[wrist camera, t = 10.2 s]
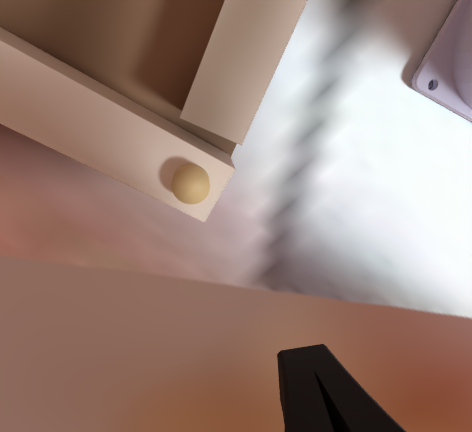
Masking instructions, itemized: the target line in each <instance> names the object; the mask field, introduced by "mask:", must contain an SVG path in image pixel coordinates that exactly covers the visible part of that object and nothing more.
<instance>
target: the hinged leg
mask: <svg viewBox="0 0 472 432" xmlns="http://www.w3.org/2000/svg"><path fill="white" fill-rule="evenodd" d="M0 124H2V125H4V126H6V127H8V128H10V129H12V130H14V131H16V132H19V133H21V134H23V135H25V136H27V137H29V138H31V139H33V140H35V141H37V142H39V143H41V144H43V145H45V146H47V147H50V148H52V149H54V150H56V151H58V152H60V153H62V154H64V155H66V156H68V157H70V158H72V159H74V160H76V161H79V162H81V163H83V164H85V165H87V166H89V167H91V168H93V169H95V170H97V171H99V172H101V173H103V174H105V175H108V176H110V177H112V178H114V179H116V180H118V181H120V182H122V183H124V184H126V185H128V186H130V187H132V188H134V189H136V190H139V191H141V192H143V193H145V194H147V195H149V196H151V197H153V198H155V199H157V200H159V201H161V202H163V203H165V204H168V205H170V206H172V207H174V208H176V209H178V210H180V211H182V212H184V213H186V214H188V215H190V216H192V217H194V218H197V219H199V220H201V221H203V222H205V221H206V219H207V217H208V215H209V214H210V212H211V210H212V209H213V207H214V205H215V203H216V202H217V200H218V198H219V197H220V195H221V193H222V192H223V190H224V188H225V186H226V185H227V183H228V181H229V180H230V178H231V176H232V175H233V173H234V171H235V167H234V164H233V162H232V159H231V157H230V155H229V154H227V153H225V152H223V151H221V150H220V149H218V148H216V147H214V146H212V145H211V144H209V143H207V142H205V141H204V140H202V139H200V138H198V137H196V136H195V135H193V134H191V133H189V132H187V131H186V130H184V129H182V128H180V127H178V126H177V125H175V124H173V123H171V122H170V121H168V120H166V119H164V118H162V117H161V116H159V115H157V114H155V113H153V112H152V111H150V110H148V109H146V108H144V107H143V106H141V105H139V104H137V103H135V102H134V101H132V100H130V99H128V98H127V97H125V96H123V95H121V94H119V93H118V92H116V91H114V90H112V89H110V88H109V87H107V86H105V85H103V84H101V83H100V82H98V81H96V80H94V79H92V78H91V77H89V76H87V75H85V74H84V73H82V72H80V71H78V70H76V69H75V68H73V67H71V66H69V65H67V64H66V63H64V62H62V61H60V60H58V59H57V58H55V57H53V56H51V55H50V54H48V53H46V52H44V51H42V50H41V49H39V48H37V47H35V46H33V45H32V44H30V43H28V42H26V41H24V40H23V39H21V38H19V37H17V36H15V35H14V34H12V33H10V32H8V31H7V30H5V29H3V28H1V27H0Z"/></svg>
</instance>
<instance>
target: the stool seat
mask: <svg viewBox="0 0 472 432" xmlns="http://www.w3.org/2000/svg"><path fill="white" fill-rule="evenodd" d="M306 2H307V0H0V27H1V28H3V29H5V30H7V31H8V32H10V33H12V34H14V35H15V36H17V37H19V38H21V39H23V40H24V41H26V42H28V43H30V44H32V45H33V46H35V47H37V48H39V49H41V50H42V51H44V52H46V53H48V54H50V55H51V56H53V57H55V58H57V59H58V60H60V61H62V62H64V63H66V64H67V65H69V66H71V67H73V68H75V69H76V70H78V71H80V72H82V73H84V74H85V75H87V76H89V77H91V78H92V79H94V80H96V81H98V82H100V83H101V84H103V85H105V86H107V87H109V88H110V89H112V90H114V91H116V92H118V93H119V94H121V95H123V96H125V97H127V98H128V99H130V100H132V101H134V102H135V103H137V104H139V105H141V106H143V107H144V108H146V109H148V110H150V111H152V112H153V113H155V114H157V115H159V116H161V117H162V118H164V119H166V120H168V121H170V122H171V123H173V124H175V125H177V126H178V127H180V128H182V129H184V130H186V131H187V132H189V133H191V134H193V135H195V136H196V137H198V138H200V139H202V140H204V141H205V142H207V143H209V144H211V145H212V146H214V147H216V148H218V149H220V150H221V151H223V152H225V153H227V154H229V155H230V157H231V155H232V153H233V151H234V148H235V146H236V144H240V145H242V143H243V141H244V139H245V136H246V134H247V132H248V130H249V128H250V125H251V123H252V121H253V119H254V117H255V114H256V112H257V110H258V108H259V106H260V103H261V101H262V99H263V97H264V95H265V92H266V90H267V88H268V86H269V84H270V81H271V79H272V77H273V75H274V73H275V70H276V68H277V66H278V64H279V62H280V59H281V57H282V55H283V53H284V51H285V48H286V46H287V44H288V42H289V40H290V38H291V35H292V33H293V31H294V29H295V27H296V24H297V22H298V20H299V18H300V16H301V13H302V11H303V9H304V7H305V5H306Z"/></svg>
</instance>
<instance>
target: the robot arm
mask: <svg viewBox="0 0 472 432" xmlns="http://www.w3.org/2000/svg"><path fill="white" fill-rule="evenodd" d="M431 80H432V81H433V86H432V88H431V89H430V90H429V88H428V84H429V82H430V81H431ZM412 86H413V88H414V89H415V90H416V91H418V92H420V93H422V94H423V95H425V96H427V97H429V98H430V99H432V100H434V101H436V102H437V103H439V104H441V105H443V106H444V107H446V108H448V109H450V110H451V111H453V112H455V113H457V114H458V115H460V116H462V117H464V118H466V119H467V120H469V121H471V122H472V0H457V2H456V4H455V5H454V7H453V9H452V10H451V12H450V14H449V16H448V17H447V19H446V21H445V22H444V24H443V26H442V28H441V29H440V31H439V33H438V35H437V36H436V38H435V40H434V41H433V43H432V45H431V47H430V48H429V50H428V52H427V53H426V55H425V57H424V59H423V60H422V62H421V64H420V65H419V67H418V69H417V71H416V72H415V74H414V76H413V78H412ZM277 358H278V371H279V372H278V373H279V388H280V401H281V406H282V411H283V417H284V424H285V432H406V431H405V430H404V429H403V428H402V427H401V426H400V425H399V424H398V423H396V422H395V420H393V419H392V418H391V417H390V416H389V415H388V414H387V413H386V412H385V411H384V410H383V409H382V408H381V406H379V405H378V403H377V402H376V401H375V400H374V399H373V398H372V397H371V396H370V395H369V394H368V393H367V392H366V391H365V390H364V389H363V388H362V387H361V386H360V385H359V384H358V382H357V381H356V380H355V379H354V378H353V377H352V376H351V375H350V374H349V373H348V371H347V370H346V369H345V368H344V367H343V366H342V364H341V363H340V362H339V361H338V360H337V359H336V358H335V356H334V355H333V354H332V353H331V351H330V350H329V349H328V348H327V347H326V346H325V345H324V344H320V345H313V346H307V347H301V348H294V349H289V350H282V351H280V352H279V353H278V354H277Z"/></svg>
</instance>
